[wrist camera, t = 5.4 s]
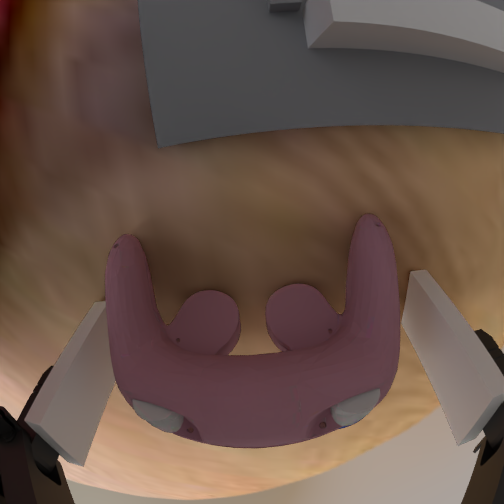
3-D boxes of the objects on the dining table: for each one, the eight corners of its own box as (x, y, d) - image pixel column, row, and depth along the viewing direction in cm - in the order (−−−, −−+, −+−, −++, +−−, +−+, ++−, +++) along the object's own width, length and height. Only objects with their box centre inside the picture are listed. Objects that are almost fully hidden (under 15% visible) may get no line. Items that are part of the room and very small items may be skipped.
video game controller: (148, 288, 14) (133, 441, 10) (105, 223, 10) (62, 427, 6) (364, 273, 13) (393, 429, 9) (389, 199, 10) (453, 413, 5)
